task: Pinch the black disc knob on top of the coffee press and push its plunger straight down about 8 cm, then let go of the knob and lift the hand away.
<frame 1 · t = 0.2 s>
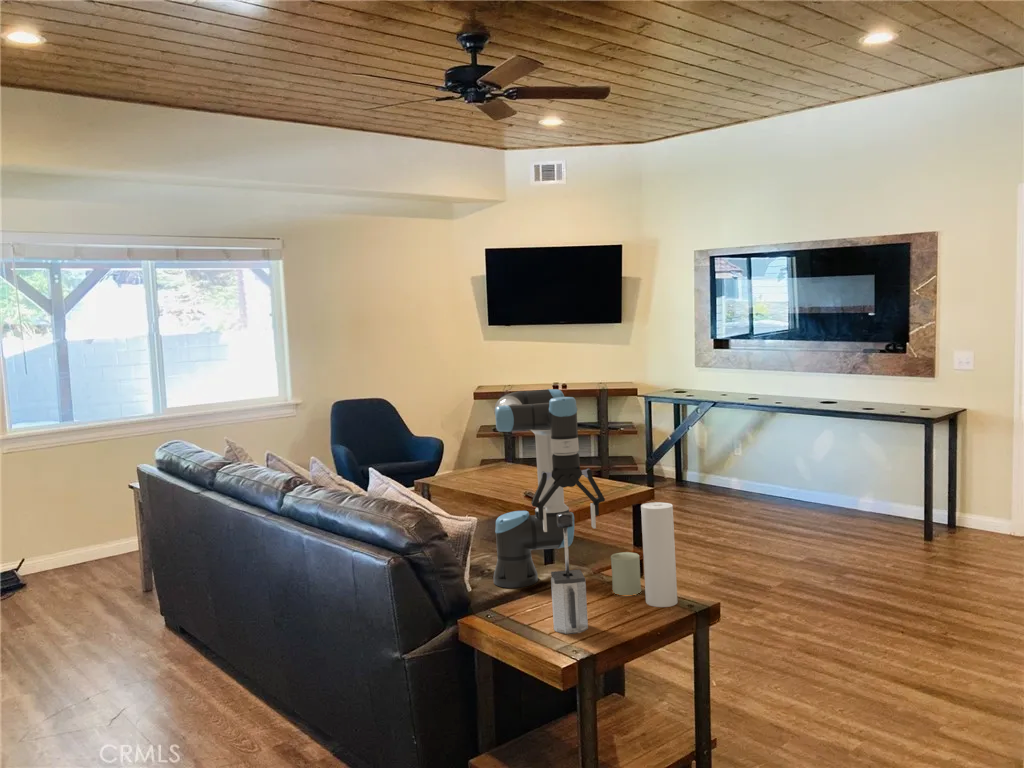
hand: (569, 529, 212), 28 cm above the table, fingers open, 13 cm apart
press carafe: (570, 627, 215), on the table
can: (626, 592, 243), on the table
plunger: (566, 549, 214), point 22 cm above the table, slide at 0.0 cm
cylinder container: (661, 602, 232), on the table
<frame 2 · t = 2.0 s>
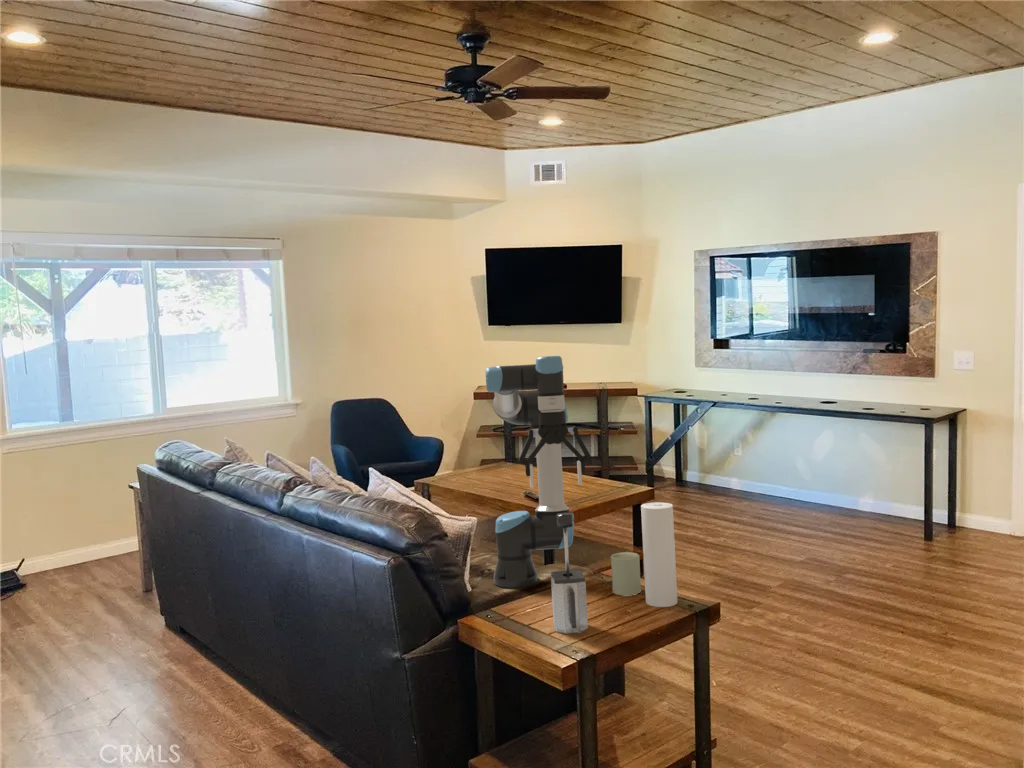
hand: (556, 486, 215), 40 cm above the table, fingers open, 13 cm apart
nothing on the table moved.
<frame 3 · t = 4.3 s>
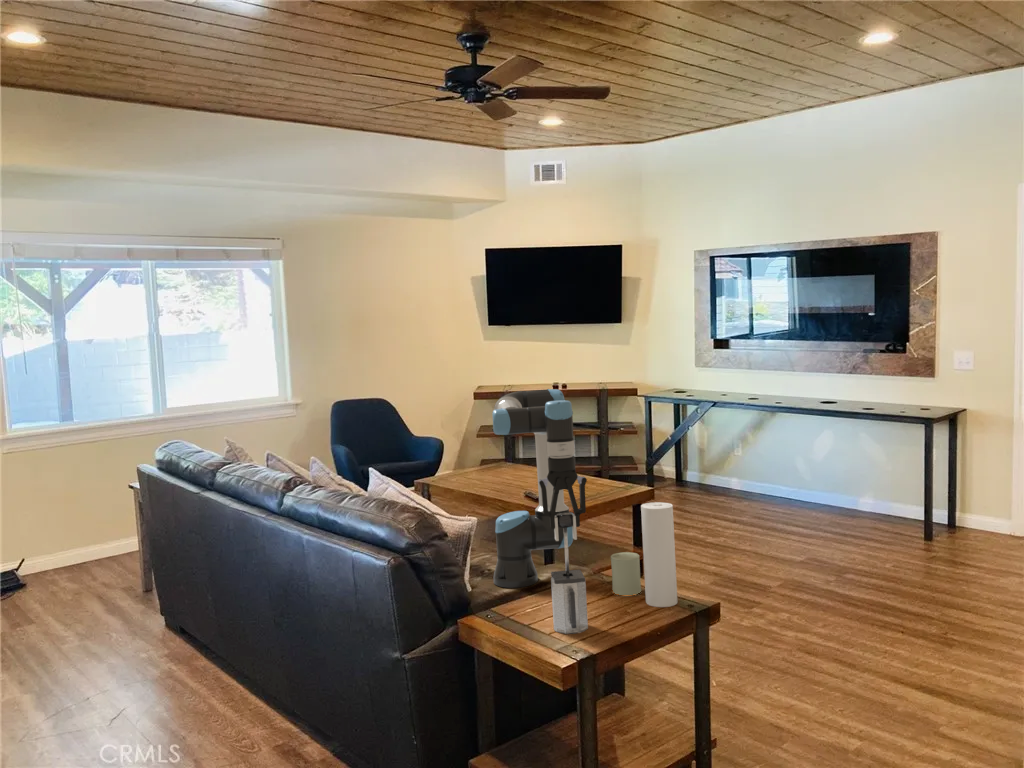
hand: (565, 538, 213), 25 cm above the table, fingers closed on plunger, 4 cm apart
plunger: (566, 549, 214), point 22 cm above the table, slide at 0.0 cm, touching gripper
everything else where it was.
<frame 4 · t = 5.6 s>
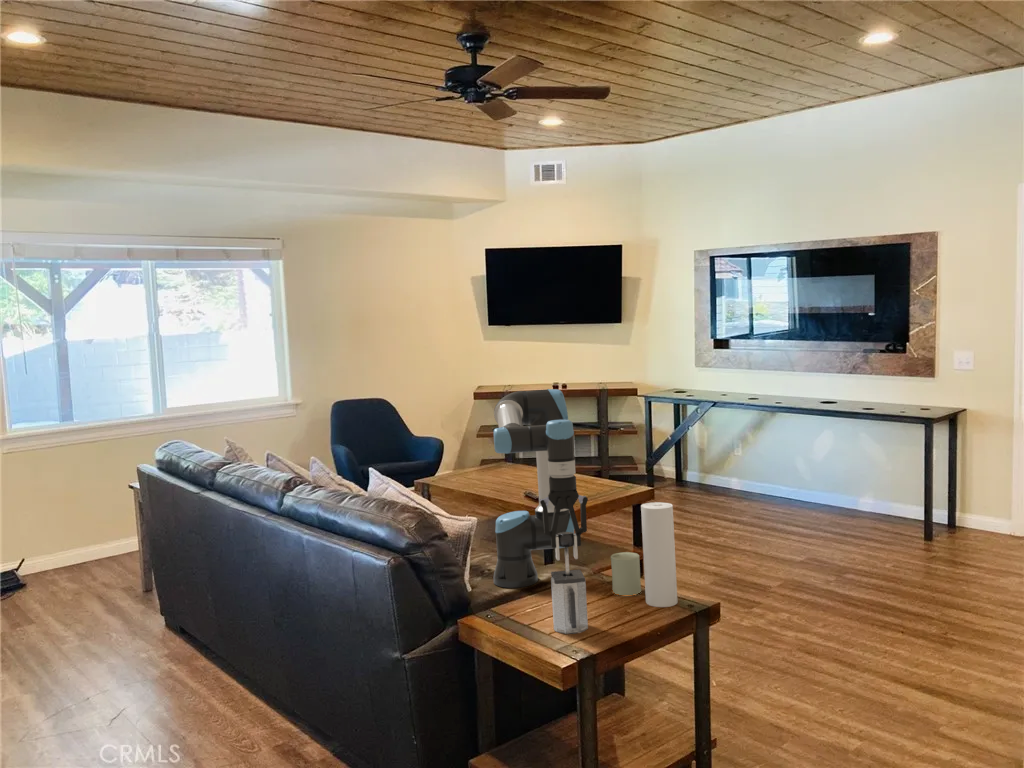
hand: (566, 558, 214), 20 cm above the table, fingers closed on plunger, 4 cm apart
plunger: (567, 569, 214), point 17 cm above the table, slide at 5.4 cm, touching gripper
everything else where it was.
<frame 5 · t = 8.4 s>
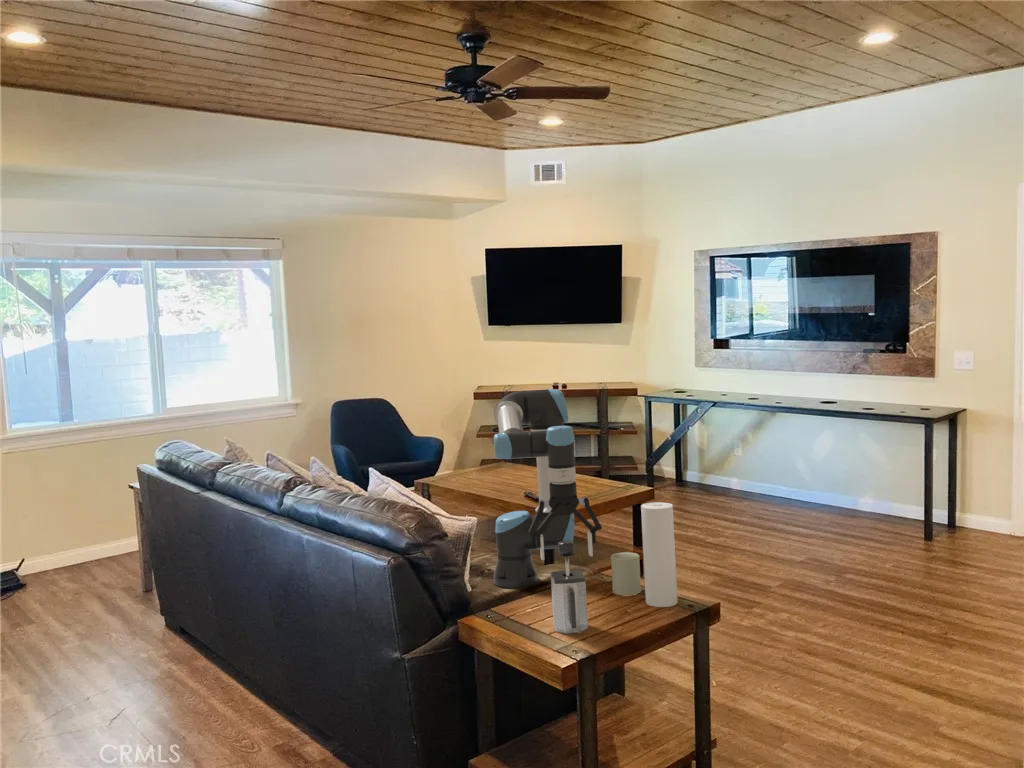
hand: (566, 557, 214), 20 cm above the table, fingers open, 13 cm apart
plunger: (567, 578, 214), point 14 cm above the table, slide at 8.0 cm
everything else where it was.
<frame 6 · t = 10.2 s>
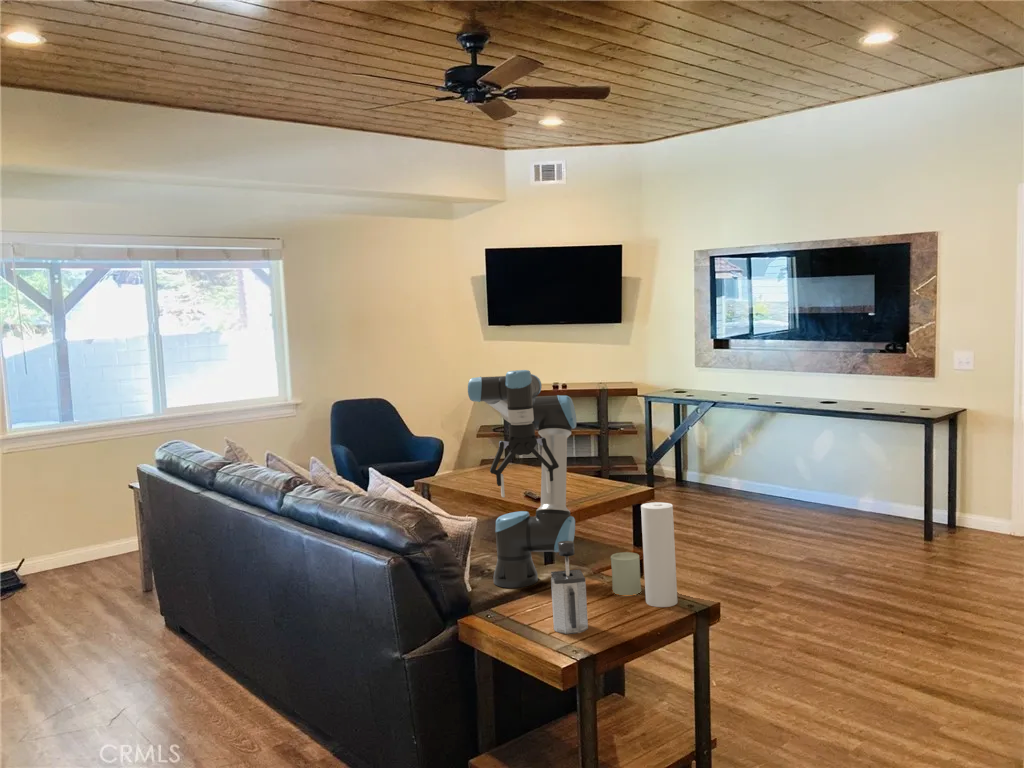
hand: (525, 494, 225), 36 cm above the table, fingers open, 13 cm apart
nothing on the table moved.
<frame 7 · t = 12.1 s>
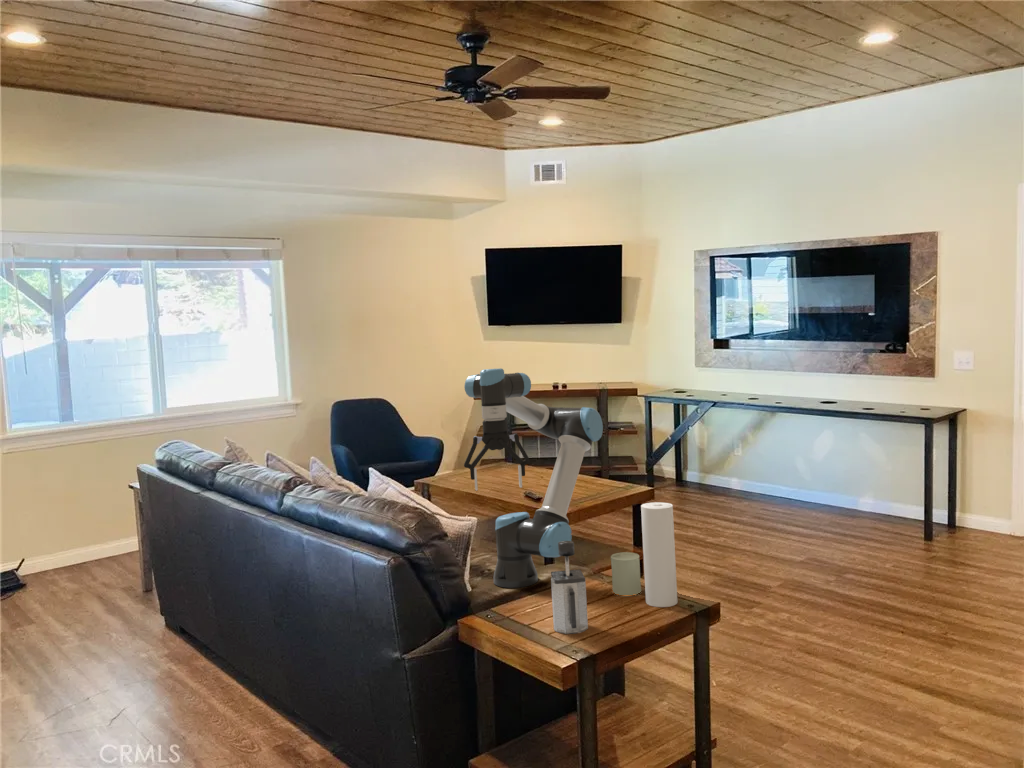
hand: (498, 488, 234), 37 cm above the table, fingers open, 13 cm apart
nothing on the table moved.
at the end: plunger slide at 8.0 cm; the gripper is holding nothing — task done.
